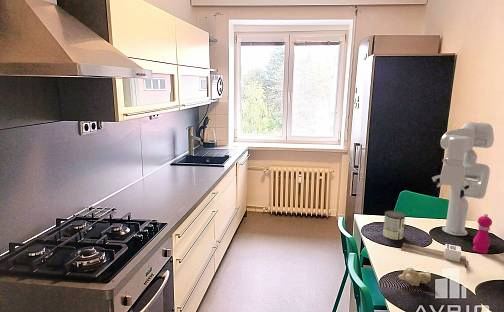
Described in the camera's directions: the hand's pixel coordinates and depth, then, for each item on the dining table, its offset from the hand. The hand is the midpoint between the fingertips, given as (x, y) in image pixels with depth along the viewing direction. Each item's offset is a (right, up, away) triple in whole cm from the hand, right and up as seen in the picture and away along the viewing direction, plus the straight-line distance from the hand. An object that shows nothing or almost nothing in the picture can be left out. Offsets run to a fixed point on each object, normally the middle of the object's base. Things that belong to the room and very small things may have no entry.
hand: (449, 196), depth 172 cm
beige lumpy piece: (-31, -34, -29) cm, 54 cm away
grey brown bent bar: (-10, -29, -3) cm, 31 cm away
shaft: (-3, -29, -7) cm, 30 cm away
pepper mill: (+18, -29, +4) cm, 34 cm away
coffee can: (-22, -25, +17) cm, 37 cm away
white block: (-3, -29, -7) cm, 30 cm away
